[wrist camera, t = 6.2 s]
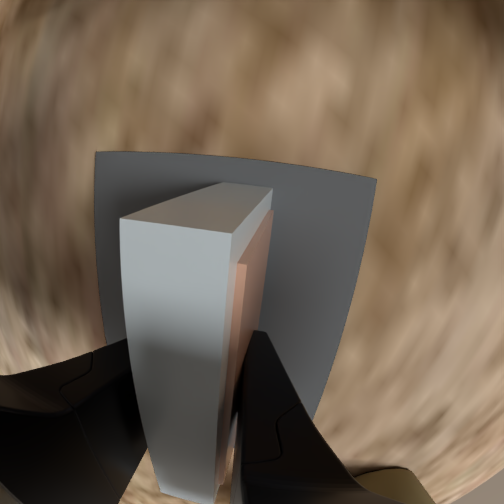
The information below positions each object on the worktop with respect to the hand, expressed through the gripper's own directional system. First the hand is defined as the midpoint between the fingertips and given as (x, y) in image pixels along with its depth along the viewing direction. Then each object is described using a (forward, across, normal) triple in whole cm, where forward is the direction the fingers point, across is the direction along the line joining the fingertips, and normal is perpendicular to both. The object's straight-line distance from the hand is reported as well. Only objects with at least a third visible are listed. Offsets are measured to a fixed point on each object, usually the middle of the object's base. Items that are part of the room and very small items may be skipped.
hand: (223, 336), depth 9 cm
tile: (+2, 0, 0) cm, 2 cm away
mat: (+3, +1, +2) cm, 4 cm away
